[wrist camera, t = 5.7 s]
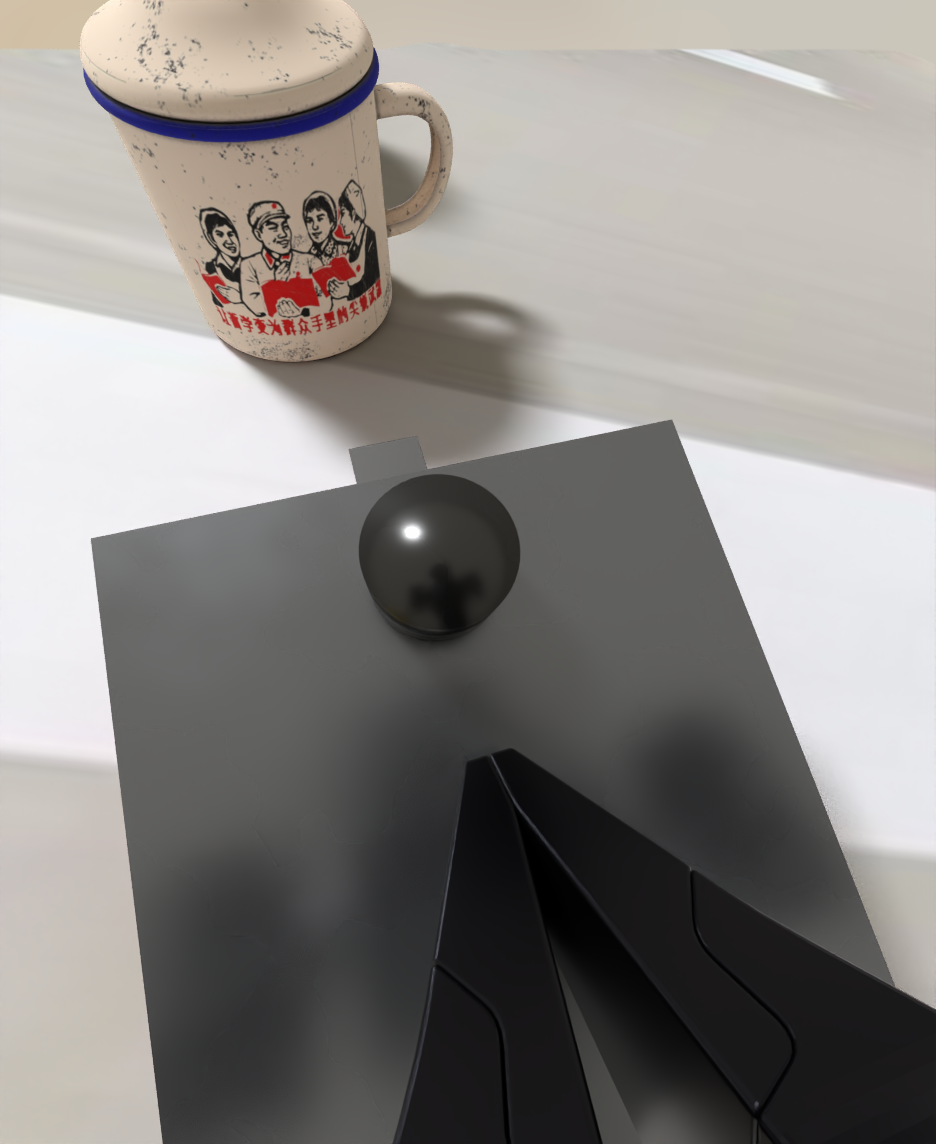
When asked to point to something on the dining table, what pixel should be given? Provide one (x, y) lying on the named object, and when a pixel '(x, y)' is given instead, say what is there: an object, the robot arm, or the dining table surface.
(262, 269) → the teacup with lid
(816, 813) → the lid
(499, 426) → the dining table surface
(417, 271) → the dining table surface
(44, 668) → the dining table surface
